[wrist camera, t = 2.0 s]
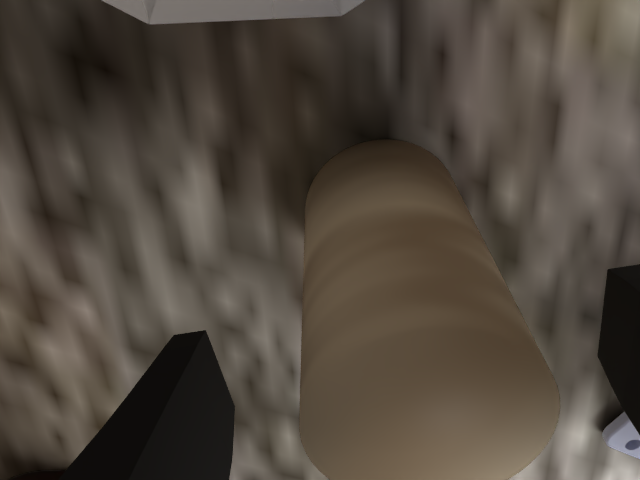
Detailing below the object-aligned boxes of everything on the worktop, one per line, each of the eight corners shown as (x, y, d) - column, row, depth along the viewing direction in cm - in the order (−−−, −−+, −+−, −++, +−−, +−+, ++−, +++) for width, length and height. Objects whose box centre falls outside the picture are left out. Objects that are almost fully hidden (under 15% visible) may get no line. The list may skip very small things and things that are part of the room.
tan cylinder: (487, 181, 14) (617, 385, 8) (404, 293, 16) (459, 526, 10) (352, 111, 13) (385, 284, 7) (279, 238, 15) (257, 462, 9)
